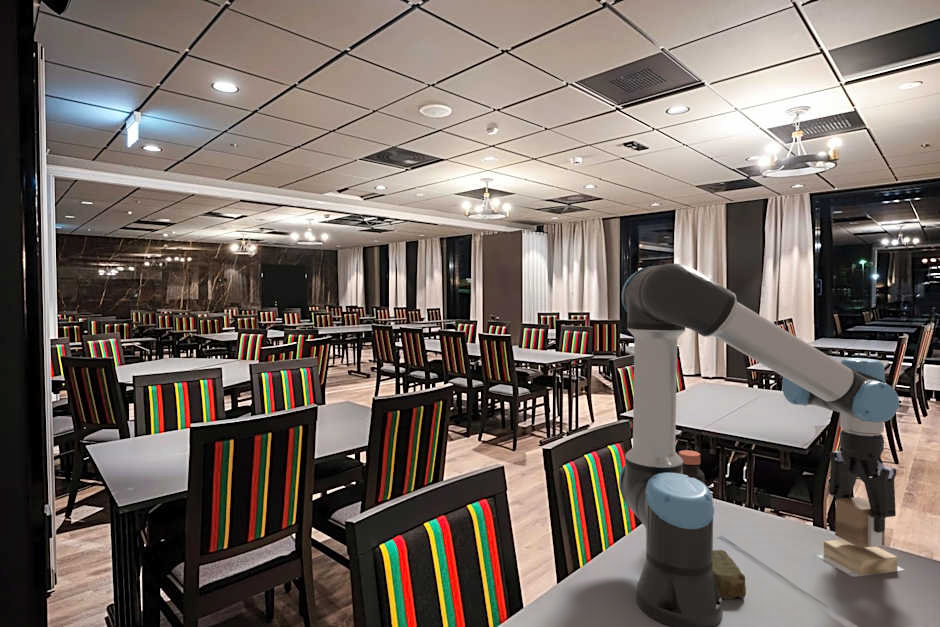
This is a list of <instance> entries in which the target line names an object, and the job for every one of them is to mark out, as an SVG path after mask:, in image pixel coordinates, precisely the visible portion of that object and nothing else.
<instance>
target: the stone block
mask: <svg viewBox="0 0 940 627" xmlns="http://www.w3.org/2000/svg"><path fill="white" fill-rule="evenodd" d="M712 570H713V574H714V577H715V580H716V583H717V586H718V589H719V592H720V596H721V599H725V600H734V599H735V598H737V597H738V598H741V599H744V598H745V597H746V596H747V595H746V594H747V586H746V576H745V574H743V573H742V571H741V569H740V567H739V566H738V565H737V564H736V563H735V561H734V560H733V559H732V558H731V557H730V555H729V554H728V553H727V551H725V550H723V549H715V550H714V549H713V559H712Z"/></svg>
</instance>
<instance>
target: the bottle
mask: <svg viewBox="0 0 940 627" xmlns="http://www.w3.org/2000/svg"><path fill="white" fill-rule="evenodd" d="M678 455H679V456H680V457H681V458H682V460H683V474H684V475H687V476H689V478H695V479H697V480H699V481H701V482H702V483H704V484H705V473H704V472H703V471H702V470H701V469H700V468H699V467H700V466H701V453H699V451H694V450H688V449H685V450H683V449H682V450H680V451H678Z"/></svg>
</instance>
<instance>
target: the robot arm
mask: <svg viewBox="0 0 940 627" xmlns="http://www.w3.org/2000/svg"><path fill="white" fill-rule="evenodd" d="M623 284H624V285H623V286H622V289H621V290H622V291H621V302H622V305H623V307H624V309H625V311H626V313H627V317H626V318H627V326H626V327H627V328H626V329H627V331H628V332H629V333H630V334H631V335H632V336H633V338H634V345H633V346H634V349H633V351H634V352H633V357H634V358H633V367H634V368H633V404H632V405H633V412H632V413H633V415H632V418H633V419H632V447H631V449H629V450H628V451H627V452H626V453H625V456H624V457H625V459H624V460H625V461H624V465H623V467H622V469H621V471H620V474H619V477H618V486H619V491H620V494H621V497H622V499H623V501H624V502H625V504H626V506H627V508H629V509H630V510H631V511H632V512H633V514H634V515H635V516H636V517H637V519H638V520H639V521H640V522H641V523H642V525H643V526H644V528H645V536H646V537H645V541H646V542H645V547H646V550H645V562H644V564H643V567H642V570H641V573H640V577H639V580H638V581H637V585H636V594H635V595H636V599H635V600H636V603H637V605H638V606H639V608H640V609H641V610H642V611H643V613H645V614H646V615H648V616H649V617H650V618H651V619H654V620H655V621H657V622H659V623H662V624H664V625H667V626H669V627H715V626H716V625H719V623H720V622H721V621H722V619H723V615H724V613H723V612H724V611H723V607H724V604H723V600H722V599H723V598H722V597H721V596H720V592H719V589H718V586H717V583H716V580H715V577H714V574H713V570H712V559H713V550H714V549H713V548H714V516H715V515H714V514H715V506H714V504H713V503H714V502H713V496H712V495H713V494H712V492H711V490H710V489H709V487H708V486H707V485H706V484H705V482H704V483H702V482H701V481H699V480H697V479H695V478H689V476H687V475H684V474H683V460H682V458H681V457H680V456H679V453H677V451H676V428H677V427H676V425H677V424H676V423H677V422H676V418H677V375H678V374H677V373H678V372H677V370H678V367H677V366H678V339H679V337H680V336H681V335H683V333H684V332H686V329H689V330H691V331H693V332H695V333H696V334H699V335H700V336H702V337H703V338H708V337H711V336H713V337H715V338H716V339H718V340H720V341H722V342H723V343H725V344H727V345H728V346H730V347H732V348H733V349H736V350H737V351H738V352H740V353H742V354H743V355H746V356H748V357H749V358H751V359H753V361H756V362H757V363H760V364H761V365H763V366H764V367H766V368H768V369H769V370H771V371H773V372H774V373H777V374H778V375H780V376H782V377H783V378H782V381H781V382H782V383H781V388H782V394H783V395H784V398H785V399H786V400H787V401H788V402H789V403H790V404H792V405H796V406H797V405H798V406H799V405H800V406H804V407H806V406H815V407H816V406H817V407H820V408H823V409H826V410H829V411H833V412H837V413H840V417H839V418H840V420H839V421H840V423H839V427H840V428H841V430H840V432H839V446H840V447H841V448H842V449H841V450H837V451H836V450H835V451H830V452H829V454H828V455H829V458H830V459H829V460H830V470H829V471H830V472H829V473H830V475H829V484H828V485H829V486H828V488H829V489H828V493H829V495H830V496H834V498H835V500H836V499H841V498H852V494H853V491H854V488H855V484H856V483H857V479H858V477H860V479H861V482H863V484H864V487H865V492H866V495H867V500H868V501H869V504H870V508H871V512H872V514H869V515H868V546H870V547H882V546H883V545H882V532H884V531H885V530H886V518H893V517H896V515H897V511H896V510H897V508H896V495H895V494H896V493H895V492H896V491H895V489H896V488H895V478H896V475H897V469H896V468H894V467H891V468H890V467H888V466H886V465H885V464H884V462H883V459H882V454H883V452H884V446H885V445H884V444H885V436H884V435H883V434H882V433H884V432H885V429H884V428H885V427H884V426H885V422H888V421H889V420H891V419H893V418H894V416H895V414H897V411H898V409H899V408H900V398H899V395H898V393H897V391H896V390H895V389H894V388H893V387H892V385H889V384H888V383H886V372H885V371H886V370H885V366H884V363H883V362H882V361H880V360H877V359H871V358H863V357H862V358H861V357H851V358H850V357H848V358H843V359H842V360H841V361H840V362H839V361H837V360H836V359H835V358H833V357H831V356H830V355H828V354H826V353H824V352H822V351H821V350H819V349H817V348H816V347H814V346H813V345H811V344H809V343H807V342H806V341H804V340H803V339H801V338H799V337H797V336H796V335H794V334H792V333H791V332H789V331H787V330H786V329H784V328H782V327H780V326H779V325H777V324H775V323H774V322H773V321H770V320H768V319H767V318H765V317H763V316H761V315H760V314H758V313H757V312H755V311H753V310H752V309H750V308H748V307H746V306H745V305H743V304H742V303H740V302H738V300H737V295H736V294H735V293H734V292H732V291H731V290H729V289H728V288H726V287H724V286H723V285H721V284H720V283H718V282H716V281H715V280H712V278H709V277H708V276H706V275H704V274H703V273H701V272H699V271H698V270H696V269H694V268H691V267H690V266H688V265H684V264H679V263H665V264H661V265H651V266H645V267H643V268H640V269H639V270H637V271H635V272H634V273H633V274H631V275H630V276H629V277H628V278H627V280H626V281H625V282H624V283H623ZM878 509H879V510H878Z"/></svg>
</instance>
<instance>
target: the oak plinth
mask: <svg viewBox="0 0 940 627" xmlns="http://www.w3.org/2000/svg"><path fill="white" fill-rule="evenodd" d="M823 555H825V556H827V557H829V558H830V559H832V560H834V561H836V562H837V563H839V564H841V565H843V566H845V567H846V568H848V569H850V570H852V571H853V572H855V573H857V574H859V575H861V576H860V577H862V575H864V576H871V575H870V574H872V575H878V573H880V574H887V573H894V572H893V571H895V572H898V571H897V566H898V556H897V555H895V554H893V553H890V552H888V551H886V550H884V549H883V548H880V547H879V546H877V547H863V548H860V547H858V546H856V545H854V544H852V543H850V542H848V541H846V540H844V539H842V538H840V539H835V540H834V539H832V540H825V541H823ZM886 572H887V573H886Z"/></svg>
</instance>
